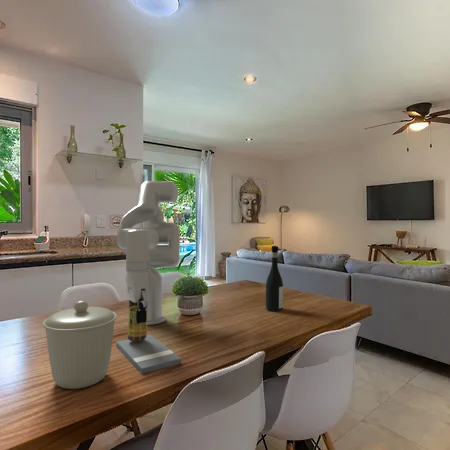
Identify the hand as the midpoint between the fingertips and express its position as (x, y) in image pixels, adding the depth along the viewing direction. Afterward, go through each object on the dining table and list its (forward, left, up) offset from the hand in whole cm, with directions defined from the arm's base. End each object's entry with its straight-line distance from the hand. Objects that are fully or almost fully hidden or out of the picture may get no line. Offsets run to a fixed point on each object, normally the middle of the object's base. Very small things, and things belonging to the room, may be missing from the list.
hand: (137, 319), depth 112 cm
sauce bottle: (0, 0, -7) cm, 7 cm away
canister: (+14, -20, -9) cm, 27 cm away
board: (+8, 0, -9) cm, 12 cm away
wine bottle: (-8, +69, -9) cm, 70 cm away
